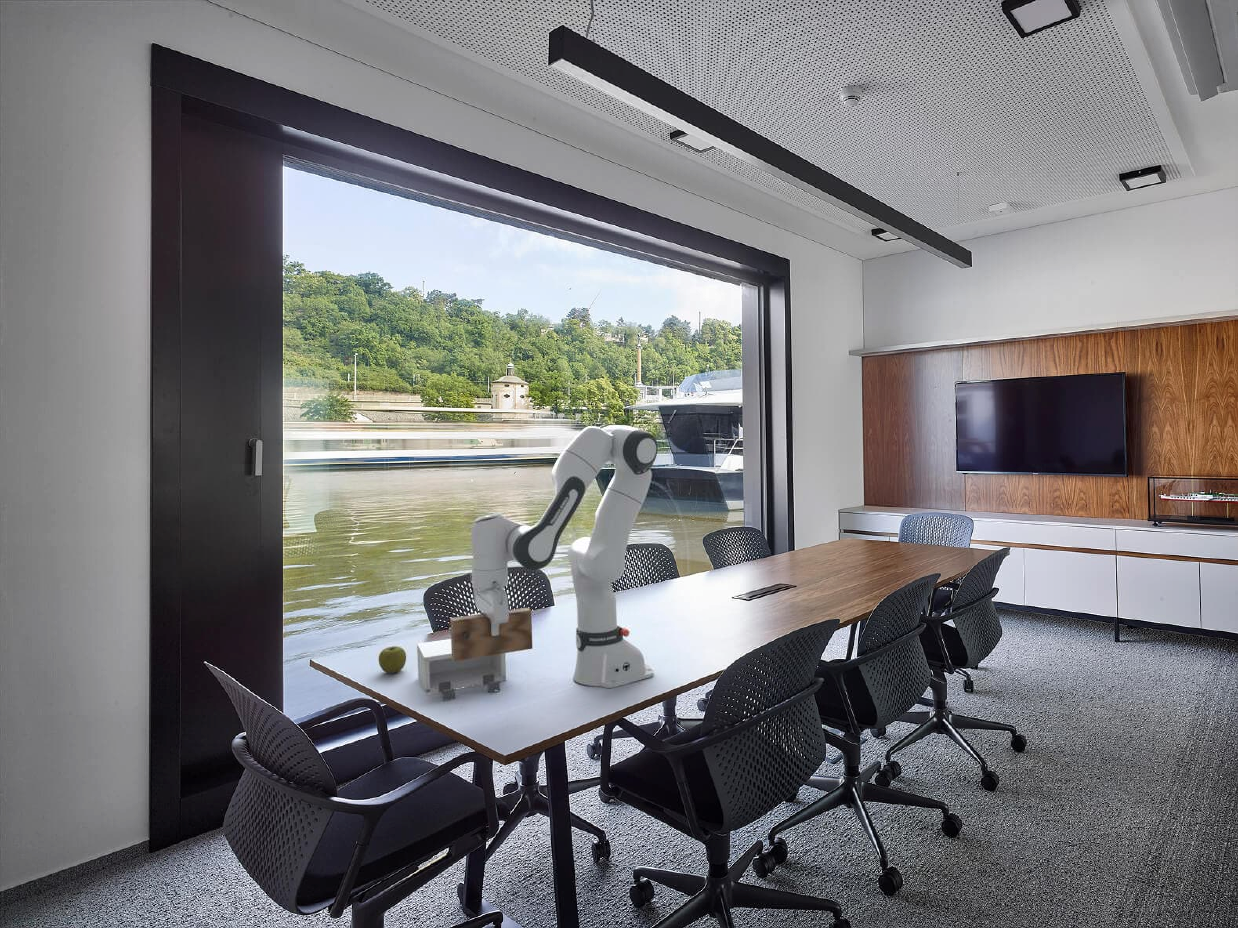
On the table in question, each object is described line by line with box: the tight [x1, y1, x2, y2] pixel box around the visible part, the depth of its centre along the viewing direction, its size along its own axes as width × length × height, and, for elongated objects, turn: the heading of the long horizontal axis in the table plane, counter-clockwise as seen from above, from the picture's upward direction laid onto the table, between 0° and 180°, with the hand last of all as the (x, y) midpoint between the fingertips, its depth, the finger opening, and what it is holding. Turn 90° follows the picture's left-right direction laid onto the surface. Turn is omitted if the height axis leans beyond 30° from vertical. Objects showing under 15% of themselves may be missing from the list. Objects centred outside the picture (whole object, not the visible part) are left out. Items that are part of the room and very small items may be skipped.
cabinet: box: [416, 638, 507, 701], centre depth 197 cm, size 22×21×10 cm
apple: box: [378, 645, 407, 674], centre depth 208 cm, size 8×8×7 cm
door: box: [449, 607, 533, 661], centre depth 178 cm, size 20×4×10 cm, turn 115°
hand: (492, 632), depth 178 cm, fingers closed on door, 3 cm apart
